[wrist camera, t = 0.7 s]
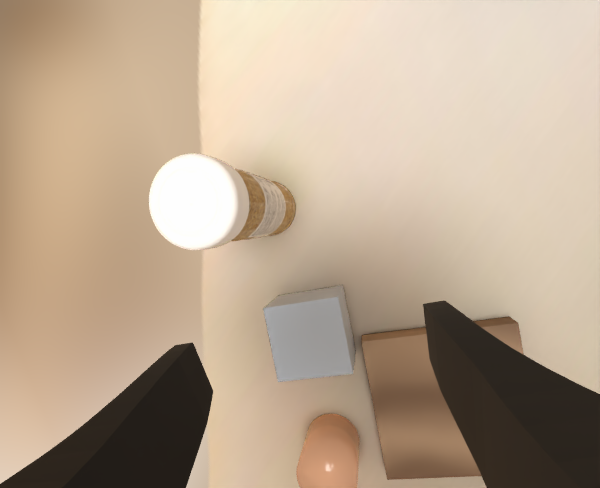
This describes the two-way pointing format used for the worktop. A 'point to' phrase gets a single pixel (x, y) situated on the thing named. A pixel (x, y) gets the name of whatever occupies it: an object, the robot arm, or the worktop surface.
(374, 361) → the plinth
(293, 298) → the block
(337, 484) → the cylinder
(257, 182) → the sprinkles bottle
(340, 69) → the worktop surface
